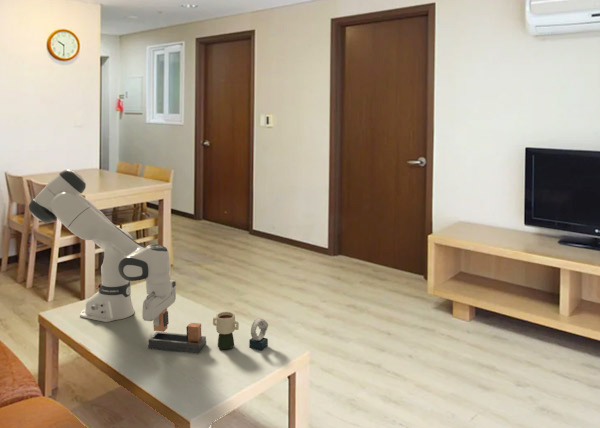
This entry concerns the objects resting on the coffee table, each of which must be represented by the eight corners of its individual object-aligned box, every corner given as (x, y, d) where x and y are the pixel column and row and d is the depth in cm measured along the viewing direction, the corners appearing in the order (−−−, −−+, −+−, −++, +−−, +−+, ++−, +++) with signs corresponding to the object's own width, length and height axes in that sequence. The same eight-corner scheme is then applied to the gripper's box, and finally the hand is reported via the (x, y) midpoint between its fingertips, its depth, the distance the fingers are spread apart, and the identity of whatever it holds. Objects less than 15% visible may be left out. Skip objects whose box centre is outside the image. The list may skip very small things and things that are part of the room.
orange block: (153, 330, 191) (152, 310, 190) (157, 327, 194) (156, 307, 193) (165, 331, 191) (164, 311, 189) (168, 328, 194) (168, 308, 192)
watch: (270, 344, 197) (270, 317, 195) (259, 352, 190) (259, 325, 188) (258, 340, 199) (258, 314, 197) (246, 349, 192) (246, 322, 190)
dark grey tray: (148, 348, 191) (147, 325, 189) (157, 339, 199) (156, 316, 197) (198, 354, 188) (198, 330, 186) (206, 344, 196) (205, 321, 194)
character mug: (243, 345, 195) (242, 314, 192) (233, 353, 189) (233, 321, 186) (218, 340, 199) (217, 309, 196) (208, 348, 192) (207, 316, 190)
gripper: (153, 298, 179) (155, 335, 181) (178, 279, 198) (179, 313, 201) (136, 297, 180) (138, 333, 183) (163, 278, 199) (164, 311, 202)
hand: (160, 322), depth 192 cm, fingers closed on orange block, 3 cm apart
